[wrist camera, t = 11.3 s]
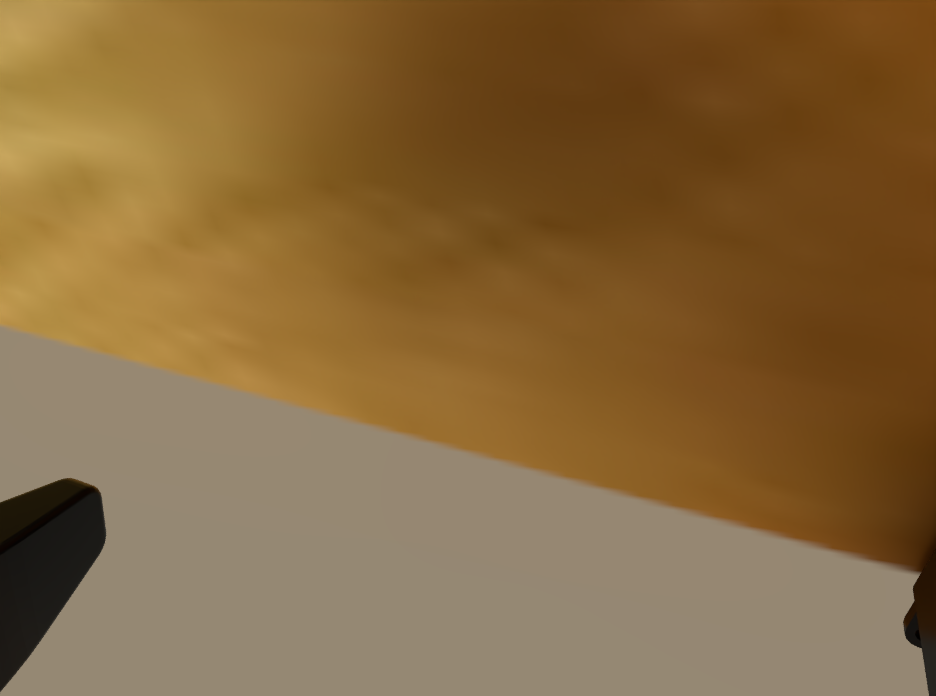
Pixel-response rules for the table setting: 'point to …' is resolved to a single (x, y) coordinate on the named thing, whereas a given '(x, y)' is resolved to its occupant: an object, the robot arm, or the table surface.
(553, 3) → the table surface
